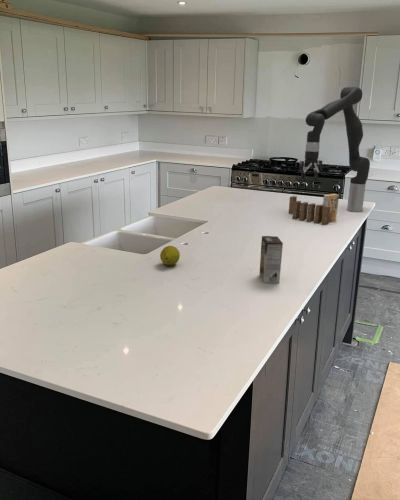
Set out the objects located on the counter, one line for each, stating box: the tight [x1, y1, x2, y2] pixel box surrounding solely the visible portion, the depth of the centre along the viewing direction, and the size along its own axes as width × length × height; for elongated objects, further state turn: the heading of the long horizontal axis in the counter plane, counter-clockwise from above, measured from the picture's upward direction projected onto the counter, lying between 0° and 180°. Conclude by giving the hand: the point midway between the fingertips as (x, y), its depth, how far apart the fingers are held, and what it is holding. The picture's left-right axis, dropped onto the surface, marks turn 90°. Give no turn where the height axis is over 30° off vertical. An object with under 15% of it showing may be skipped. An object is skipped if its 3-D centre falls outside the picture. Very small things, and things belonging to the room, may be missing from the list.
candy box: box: [321, 193, 340, 223], centre depth 289 cm, size 9×4×15 cm, turn 129°
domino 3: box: [299, 201, 309, 222], centre depth 291 cm, size 5×2×10 cm, turn 142°
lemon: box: [159, 245, 181, 266], centre depth 209 cm, size 11×8×8 cm
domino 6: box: [320, 206, 331, 226], centre depth 283 cm, size 5×2×10 cm, turn 142°
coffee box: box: [258, 235, 284, 284], centre depth 196 cm, size 9×6×16 cm
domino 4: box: [306, 202, 317, 223], centre depth 288 cm, size 5×2×10 cm, turn 142°
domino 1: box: [288, 195, 298, 215], centre depth 307 cm, size 5×2×10 cm, turn 142°
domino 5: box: [313, 203, 323, 225], centre depth 286 cm, size 5×2×10 cm, turn 142°
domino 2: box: [292, 200, 302, 220], centre depth 293 cm, size 5×2×10 cm, turn 142°
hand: (309, 179), depth 291 cm, fingers open, 8 cm apart
